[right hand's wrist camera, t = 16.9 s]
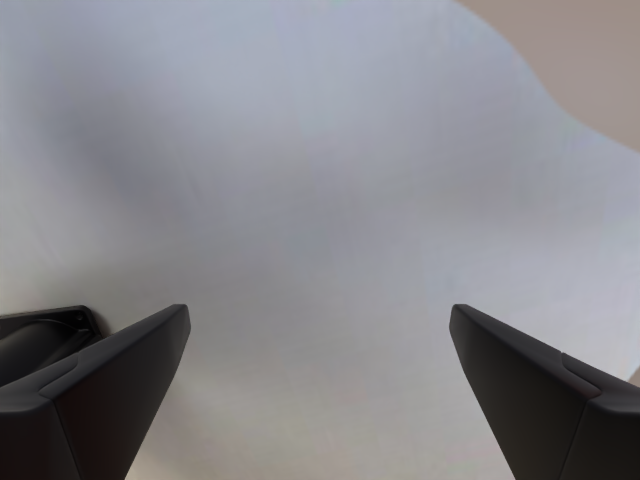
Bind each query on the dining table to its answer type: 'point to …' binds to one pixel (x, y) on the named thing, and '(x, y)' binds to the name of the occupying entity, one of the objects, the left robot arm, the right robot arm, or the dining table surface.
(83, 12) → the dining table surface
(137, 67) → the dining table surface
